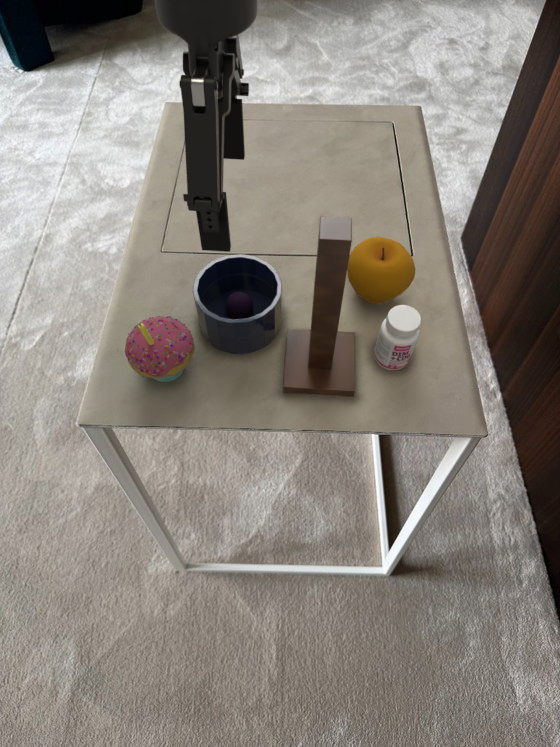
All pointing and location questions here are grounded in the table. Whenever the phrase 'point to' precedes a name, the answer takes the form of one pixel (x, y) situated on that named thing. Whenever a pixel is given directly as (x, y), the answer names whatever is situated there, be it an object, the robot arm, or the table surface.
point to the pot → (231, 278)
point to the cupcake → (159, 348)
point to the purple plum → (239, 306)
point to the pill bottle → (397, 337)
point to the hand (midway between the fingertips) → (224, 200)
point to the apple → (380, 269)
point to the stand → (324, 323)
